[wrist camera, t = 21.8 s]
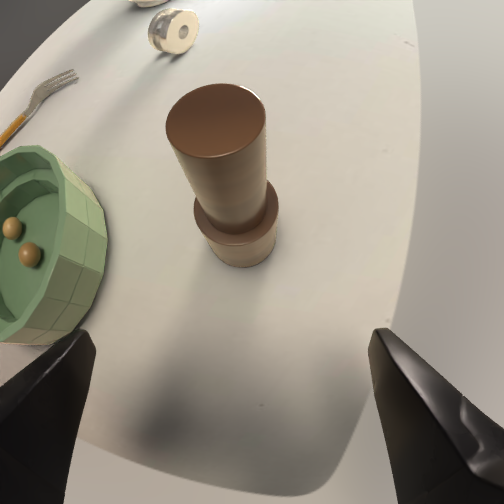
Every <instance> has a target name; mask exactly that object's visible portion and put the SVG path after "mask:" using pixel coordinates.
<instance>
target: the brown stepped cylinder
mask: <svg viewBox="0 0 504 504" xmlns="http://www.w3.org/2000/svg"><path fill="white" fill-rule="evenodd" d="M166 134H167V138H168V140H169V142H170V144H171V146H172V148H173V150H174V152H175V154H176V156H177V158H178V160H179V163H180V165H181V167H182V169H183V171H184V173H185V175H186V177H187V179H188V181H189V183H190V185H191V187H192V189H193V191H194V193H195V195H196V198H195V202H194V217H195V220H196V223H197V225H198V227H199V229H200V230H201V232H202V234H203V235H204V237H205V238H206V240H207V242H208V243H209V245H210V246H211V248H212V250H213V251H214V253H215V254H216V256H217V257H218V258H219V259H220V260H222V261H223V262H225V263H226V264H228V265H231V266H234V267H250V266H254V265H256V264H258V263H260V262H262V261H263V260H264V259H265V258H266V257H267V256H268V255H269V254H270V253H271V251H272V249H273V247H274V245H275V241H276V232H277V220H278V208H279V207H278V197H277V194H276V192H275V189H274V188H273V186H272V185H271V183H270V182H269V181H268V180H267V172H266V113H265V108H264V106H263V104H262V102H261V100H260V99H259V98H258V97H257V96H256V95H255V94H254V93H253V92H251V91H250V90H248V89H246V88H244V87H241V86H238V85H234V84H225V83H220V84H211V85H206V86H203V87H200V88H197V89H195V90H193V91H191V92H189V93H187V94H186V95H184V96H183V97H182V98H181V99H179V100H178V101H177V102H176V103H175V105H174V106H173V107H172V109H171V110H170V112H169V114H168V117H167V121H166Z"/></svg>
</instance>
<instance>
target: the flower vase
mask: <svg viewBox="0 0 504 504" xmlns="http://www.w3.org/2000/svg"><path fill="white" fill-rule="evenodd" d="M129 1H132V2H136V4H137V5H138V6H139V7H152V6H156V5H159V4H162V3H165V2H167V1H169V0H129Z"/></svg>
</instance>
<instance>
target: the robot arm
mask: <svg viewBox="0 0 504 504" xmlns="http://www.w3.org/2000/svg"><path fill="white" fill-rule="evenodd" d="M95 356H96V348H95V345H94V343H93V342H92V340H91V338H90V336H89V334H88V332H87V331H86V330H79V329H76V330H74V331H72V332H71V333H70V334H68V335H67V336H66V337H64V338H63V339H62V340H60V341H59V342H58V343H56V344H55V345H54V346H52V347H51V348H50V349H48V350H47V351H46V352H45V353H43V354H42V355H41V356H39V357H38V358H37V359H35V360H34V361H33V362H32V363H30V364H29V365H28V366H26V367H25V368H24V369H23V370H21V371H20V372H19V373H17V374H16V375H15V376H14V377H12V378H11V379H10V380H9V381H7V382H6V383H5V384H4V385H2V386H1V387H0V504H63V503H64V497H65V490H66V484H67V478H68V473H69V468H70V463H71V459H72V453H73V449H74V445H75V440H76V437H77V433H78V429H79V425H80V421H81V417H82V413H83V409H84V406H85V402H86V399H87V395H88V391H89V386H90V381H91V376H92V371H93V366H94V361H95ZM368 357H369V363H370V369H371V375H372V382H373V389H374V396H375V400H376V404H377V408H378V412H379V416H380V420H381V424H382V428H383V433H384V437H385V441H386V446H387V450H388V454H389V459H390V464H391V468H392V474H393V478H394V484H395V489H396V495H397V500H398V504H504V429H503V428H502V427H501V426H499V425H498V424H497V423H495V422H494V421H493V420H491V419H490V418H489V417H488V416H486V415H485V414H484V413H483V412H482V411H480V410H479V409H478V408H477V407H476V406H475V405H474V404H472V403H471V402H470V401H469V400H468V399H467V398H466V397H465V396H462V394H461V393H460V392H459V391H458V390H457V389H456V388H455V387H454V386H453V385H452V384H450V383H449V382H448V381H447V380H446V379H445V378H444V377H443V376H441V375H440V374H439V373H438V372H437V371H436V370H435V369H434V368H433V367H431V366H430V365H429V364H428V363H427V362H426V361H425V360H424V359H422V358H421V357H420V356H419V355H418V354H417V353H416V352H415V351H413V350H412V349H411V348H410V347H409V346H408V345H407V344H405V343H404V342H403V341H402V340H401V339H400V338H399V337H397V336H396V335H395V334H394V333H393V332H392V331H391V330H389V329H388V328H378V329H375V330H374V331H373V333H372V337H371V340H370V344H369V347H368Z"/></svg>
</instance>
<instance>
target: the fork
mask: <svg viewBox="0 0 504 504" xmlns="http://www.w3.org/2000/svg"><path fill="white" fill-rule="evenodd" d="M73 71H74V70H69V71H66V72H64V73H61V74H59V75H57V76H55V77H53V78H51V79H48V80H46V81H44V82H42V83H41V84H39V85H38V86H37V87H36V88H35V89H34V91H33V94H32V96H31V99H30V102H29V105H28V108H27V109H26V110H25V111H24V112H23V113H22V114H20V115H19V116H18V117H17V118H16V119H15V120H14V121H13V122H12V123H11V124H10V126H9V127H8V128H7V129H6V130H5V131H4V132H3V133H2V134H1V135H0V147H1V146H2V145H3V144H4V143H5V141H6V140H7V139H8V138H9V137H10V136H11V134H12V133H13V132H14V131H15V130H16V129H17V128H18V127H19V126H20V125H21V123H22V122H23V121H24V120H25V119H26V118H27V117H28V116H29V115H30V114H31V113H32V112H33V111H34V109H35V108H36V106H37V105H38V104H39V103H40V102H42V101H43V100H44V99H45V98H47V97H48V96H49V95H50V94H51V93H52V92H54V91H55V90H57V89H58V88H60V87H62V86H64V85H65V84H67V83H69V82H71V81H74V80H76V79H78V78H79V77H76V78H73V79H71V80H68V81H66V82H63V83H61V84H59V83H60V82H62V81H64V80H66V79H68V78H70V77H73V76H75V75H76V74H75V73H74V74H71V75H68V76H66V77H63V78H61V79H59V80H57V81H55V82H53V83H50V82H52V81H54V80H56V79H58V78H60V77H62V76H64V75H66V74H68V73H70V72H73ZM49 83H50V84H49ZM47 84H48V85H47ZM57 84H59V85H57ZM55 85H57V86H55ZM53 86H55V87H53ZM52 87H53V88H52ZM50 88H51V89H50Z"/></svg>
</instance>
